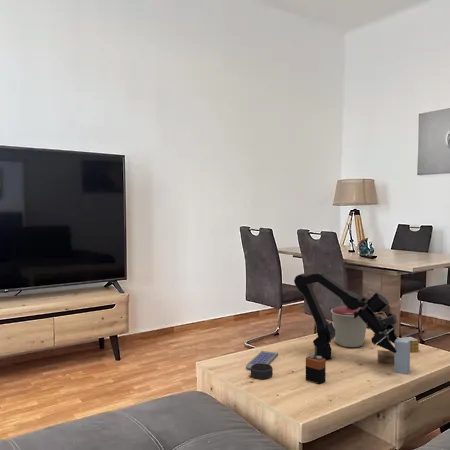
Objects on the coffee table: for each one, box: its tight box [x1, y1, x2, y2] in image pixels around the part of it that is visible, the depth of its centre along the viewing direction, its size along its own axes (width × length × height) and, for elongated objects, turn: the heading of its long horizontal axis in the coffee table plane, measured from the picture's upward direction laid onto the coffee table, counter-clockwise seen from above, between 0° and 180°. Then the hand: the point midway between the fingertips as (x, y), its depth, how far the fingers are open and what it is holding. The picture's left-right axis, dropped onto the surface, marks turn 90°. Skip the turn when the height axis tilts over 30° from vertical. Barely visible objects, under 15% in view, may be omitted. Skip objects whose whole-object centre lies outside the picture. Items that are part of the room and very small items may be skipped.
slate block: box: [393, 337, 411, 375], centre depth 194 cm, size 5×5×13 cm
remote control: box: [245, 350, 279, 372], centre depth 207 cm, size 8×23×2 cm, turn 157°
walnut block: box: [377, 349, 395, 366], centre depth 206 cm, size 7×7×4 cm
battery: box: [305, 354, 327, 385], centre depth 185 cm, size 4×7×10 cm, turn 47°
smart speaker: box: [250, 363, 274, 380], centre depth 191 cm, size 9×9×4 cm
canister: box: [330, 305, 367, 348], centre depth 231 cm, size 18×18×21 cm
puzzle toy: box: [400, 336, 420, 354], centre depth 220 cm, size 6×6×6 cm
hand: (398, 349), depth 194 cm, fingers open, 9 cm apart
